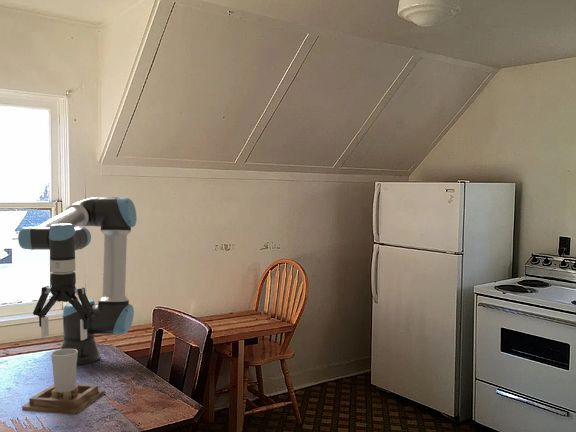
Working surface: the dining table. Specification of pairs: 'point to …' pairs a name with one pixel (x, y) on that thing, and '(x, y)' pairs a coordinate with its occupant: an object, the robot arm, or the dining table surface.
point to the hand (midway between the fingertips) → (64, 338)
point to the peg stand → (64, 399)
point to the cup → (64, 369)
